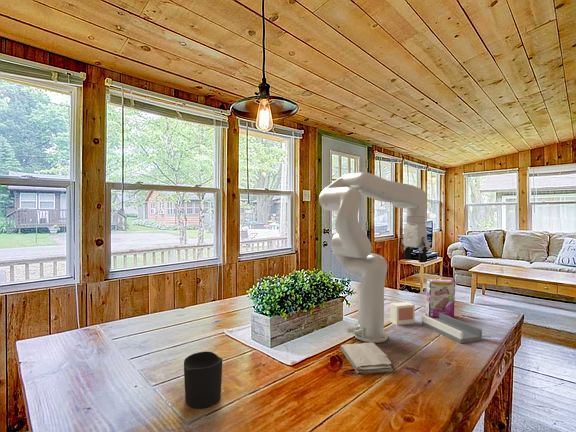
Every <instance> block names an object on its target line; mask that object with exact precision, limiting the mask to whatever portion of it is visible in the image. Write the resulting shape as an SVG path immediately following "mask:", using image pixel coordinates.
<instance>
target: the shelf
mask: <svg viewBox="0 0 576 432" xmlns="http://www.w3.org/2000/svg"><path fill="white" fill-rule="evenodd" d="M421 325H422V326H424V327H426V328H427V329H430V330H431V331H434V332H437V333H438V334H440V335H442V336H445V337H447V338H448V339H451V340H452V341H455V342H457V343H459V344H465V343H472V342H477V341H478V342H479V341H482V339H483V338H482V336H483V329H482V328H480V327H477V326H475V325H471V324H469V323H467V322H464V321H463V320H459V319H456V318H455V317H454V318H452V317H449V316H447V315H444V314H442V313H439V317H438V319H435V318H433V317H429V316H428V315H426V314H422V315H421Z"/></svg>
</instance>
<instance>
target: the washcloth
mask: <svg viewBox="0 0 576 432" xmlns="http://www.w3.org/2000/svg"><path fill="white" fill-rule="evenodd" d="M339 350H340V351H341V352H342V353H343V355H344V356H345V357H346V360H347V361H348V362H349V363H350V364H351V366H352V367H353V369H354V370H355V372H356V374H360V373H361V374H376V373H379V374H380V373H391V372H394V371H393V370H394V369H393V368H392V365H391V364H392V362H391V360H390V359H389V358H388V355H387V353H384V351H382V349H380V347H378V346H377V345H376V343H370V342H362V343H356V344H355V343H347V344H341V345H340V348H339Z"/></svg>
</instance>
